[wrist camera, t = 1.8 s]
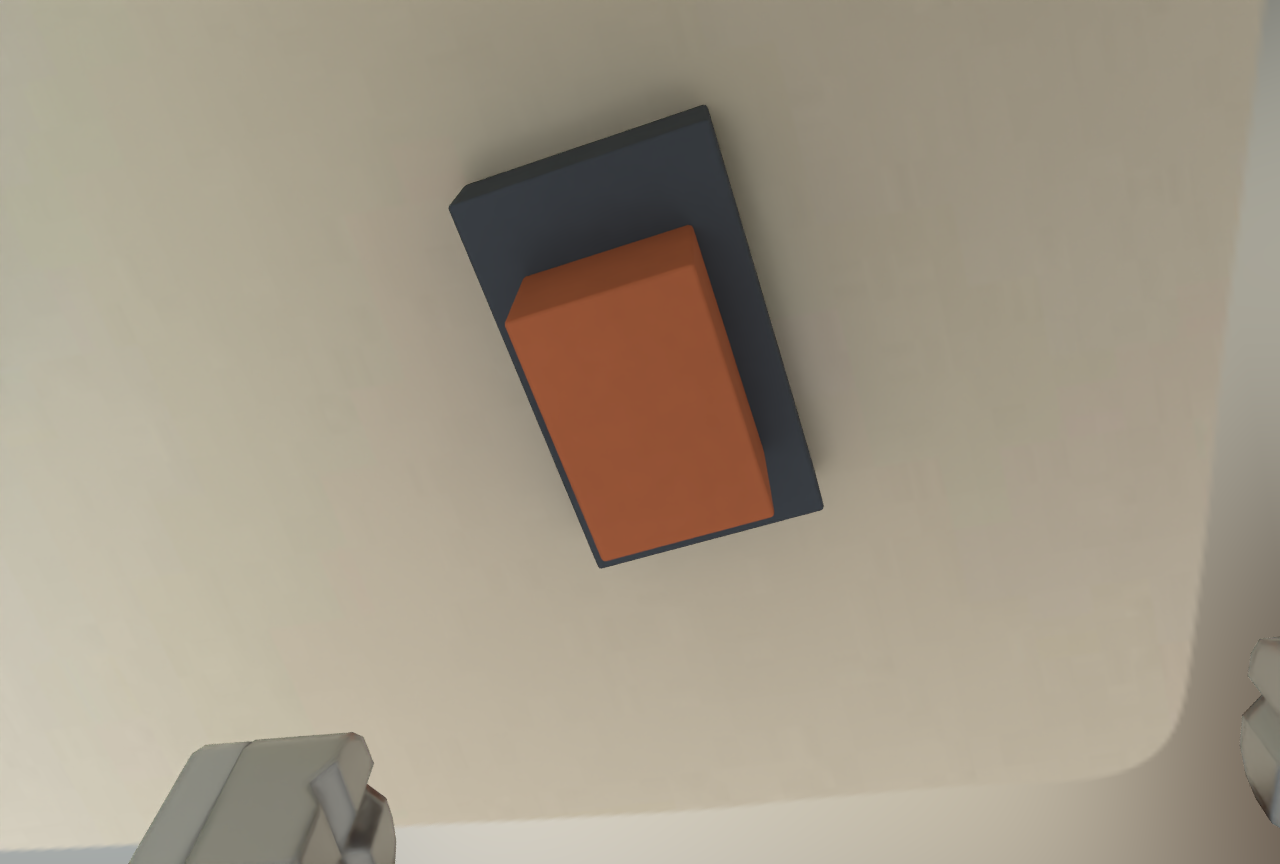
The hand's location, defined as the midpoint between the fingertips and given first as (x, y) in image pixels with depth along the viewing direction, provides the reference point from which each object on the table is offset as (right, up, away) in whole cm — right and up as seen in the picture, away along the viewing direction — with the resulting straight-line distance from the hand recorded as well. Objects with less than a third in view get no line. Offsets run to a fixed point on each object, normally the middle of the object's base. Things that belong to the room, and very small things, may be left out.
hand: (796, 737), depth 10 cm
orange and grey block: (-1, +5, +16) cm, 17 cm away
